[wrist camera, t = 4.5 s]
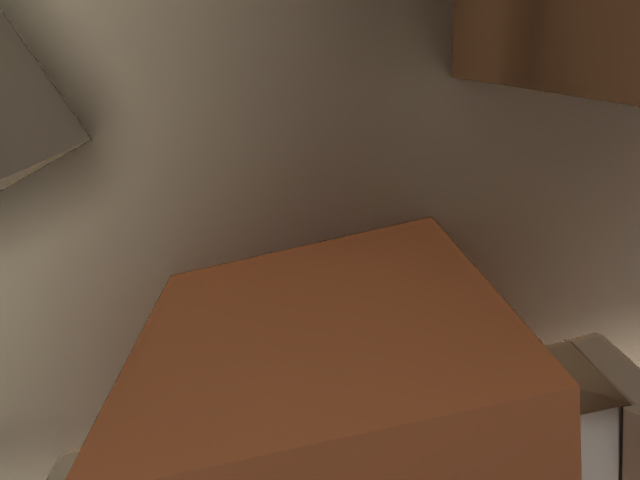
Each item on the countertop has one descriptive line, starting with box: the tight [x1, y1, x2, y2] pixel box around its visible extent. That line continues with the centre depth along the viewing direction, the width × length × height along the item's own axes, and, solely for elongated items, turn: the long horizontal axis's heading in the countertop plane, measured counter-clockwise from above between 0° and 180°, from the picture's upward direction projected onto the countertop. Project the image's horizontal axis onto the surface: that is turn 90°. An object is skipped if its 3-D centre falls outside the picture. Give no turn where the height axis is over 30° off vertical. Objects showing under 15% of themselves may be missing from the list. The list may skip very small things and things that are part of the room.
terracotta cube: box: [65, 217, 582, 480], centre depth 8 cm, size 5×5×5 cm
